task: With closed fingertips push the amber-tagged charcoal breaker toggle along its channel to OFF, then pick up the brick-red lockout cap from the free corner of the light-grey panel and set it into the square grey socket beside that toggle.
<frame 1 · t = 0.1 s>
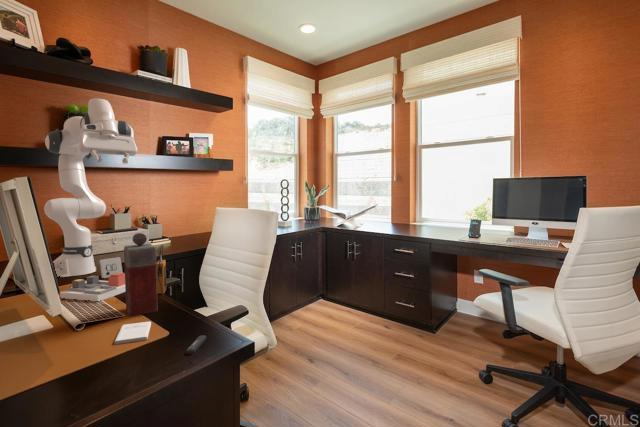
hand: (112, 162, 133), 54 cm above the table, tool tilted 30°, fingers open, 8 cm apart
lockout cap: (118, 284, 143), point 2 cm above the table, touching panel
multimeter: (152, 293, 141), on the table
decanter: (141, 309, 121), on the table
electrical switch: (110, 276, 166), on the table
usb stick: (196, 348, 93), on the table
plain toggle: (92, 280, 143), point 4 cm above the table, slide at 0.0 cm
tagged toggle: (78, 284, 136), point 4 cm above the table, slide at 0.0 cm
external hard drive: (134, 335, 101), on the table
panel: (98, 293, 139), on the table
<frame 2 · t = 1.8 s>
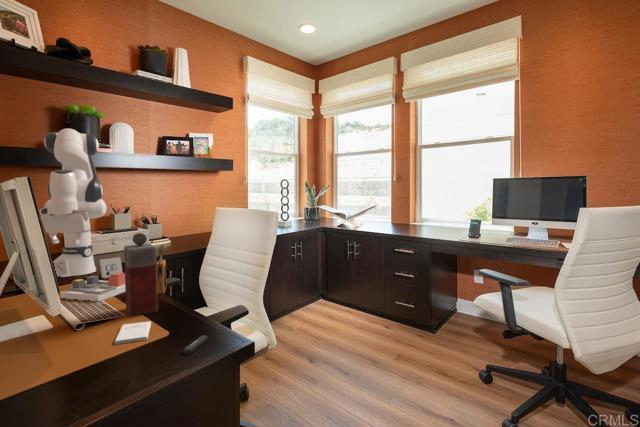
hand: (66, 243, 136), 21 cm above the table, tool pointing down, fingers open, 8 cm apart
nothing on the table moved.
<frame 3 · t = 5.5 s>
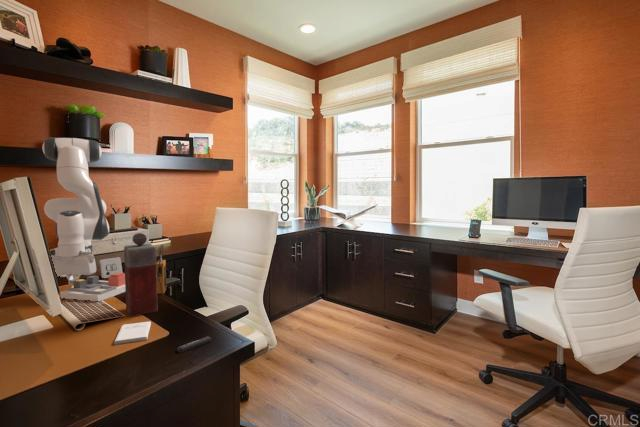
hand: (73, 284, 136), 4 cm above the table, tool pointing down, fingers closed
tagged toggle: (80, 284, 136), point 4 cm above the table, slide at 0.7 cm, touching gripper
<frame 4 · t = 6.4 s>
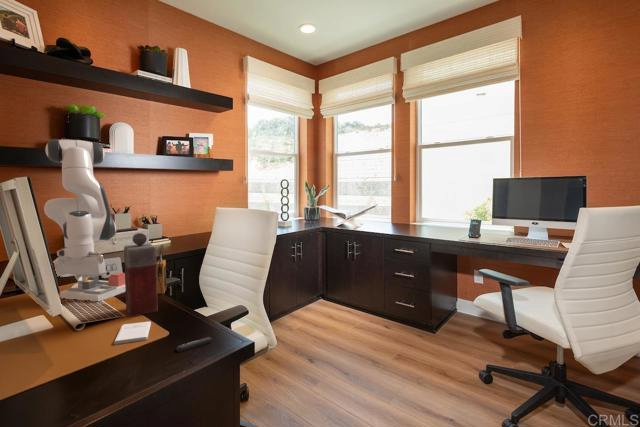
hand: (82, 284, 136), 4 cm above the table, tool pointing down, fingers closed
tagged toggle: (88, 285, 135), point 4 cm above the table, slide at 5.1 cm, touching gripper
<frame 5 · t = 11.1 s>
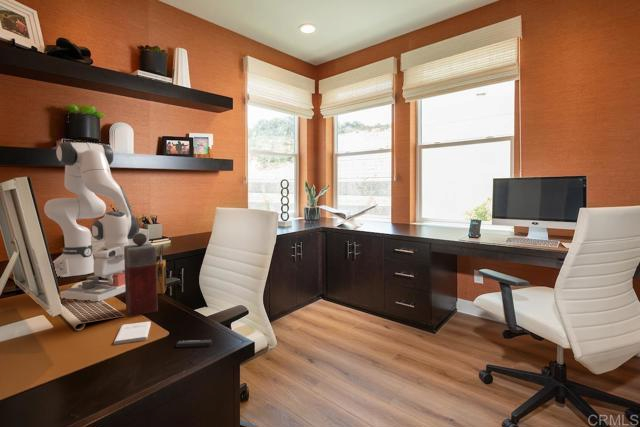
hand: (118, 281, 143), 4 cm above the table, tool pointing down, fingers closed on lockout cap, 5 cm apart
lockout cap: (118, 284, 143), point 2 cm above the table, touching gripper, panel
tagged toggle: (88, 285, 135), point 4 cm above the table, slide at 5.0 cm
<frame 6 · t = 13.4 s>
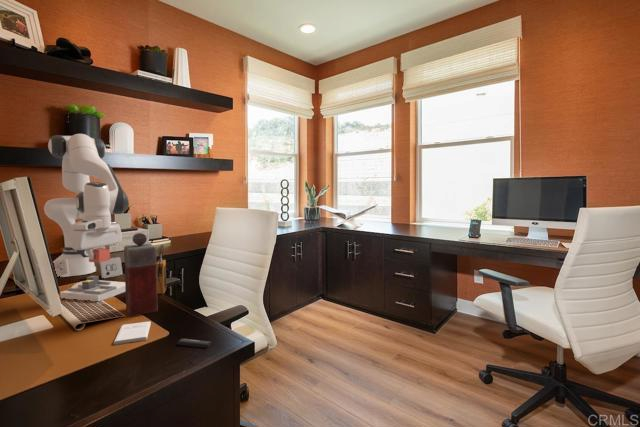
hand: (99, 257, 133), 16 cm above the table, tool pointing down, fingers closed on lockout cap, 5 cm apart
lockout cap: (99, 260, 133), point 15 cm above the table, touching gripper
when the fingers open (5 cm above the table, at t = 15.6 s): lockout cap drops 1 cm, resting on panel.
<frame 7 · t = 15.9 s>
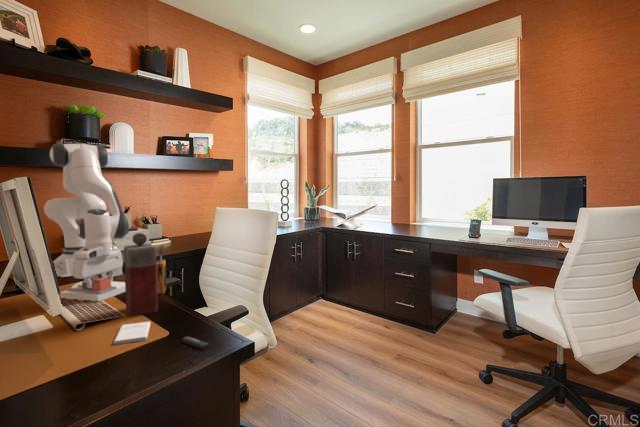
hand: (100, 284, 134), 5 cm above the table, tool pointing down, fingers open, 8 cm apart
lockout cap: (100, 290, 134), point 3 cm above the table, touching panel
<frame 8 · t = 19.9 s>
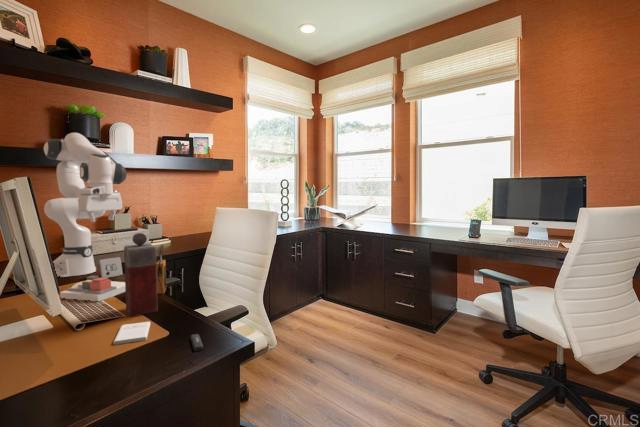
hand: (102, 220, 151), 29 cm above the table, tool pointing down, fingers open, 8 cm apart
at the end: tagged toggle slide at 5.0 cm; lockout cap 0.0 cm from the target spot on the panel, point 2.6 cm above the panel's base; lockout cap tilted 0° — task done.
